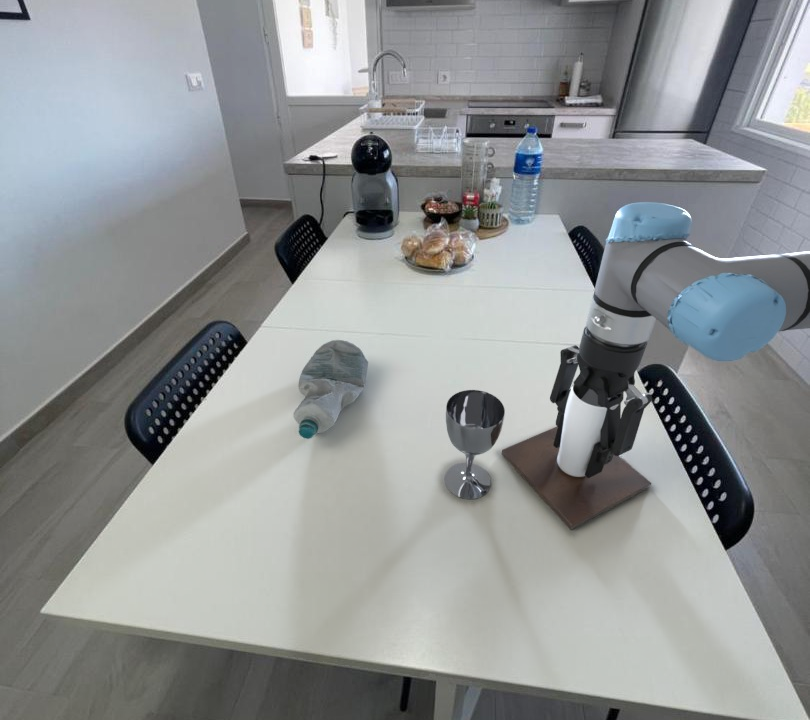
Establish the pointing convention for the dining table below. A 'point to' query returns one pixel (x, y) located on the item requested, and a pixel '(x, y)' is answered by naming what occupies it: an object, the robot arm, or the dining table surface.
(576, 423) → the drinking glass
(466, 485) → the silver metal goblet
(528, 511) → the dining table surface
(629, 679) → the dining table surface
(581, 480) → the walnut board
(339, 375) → the crushed plastic bottle
